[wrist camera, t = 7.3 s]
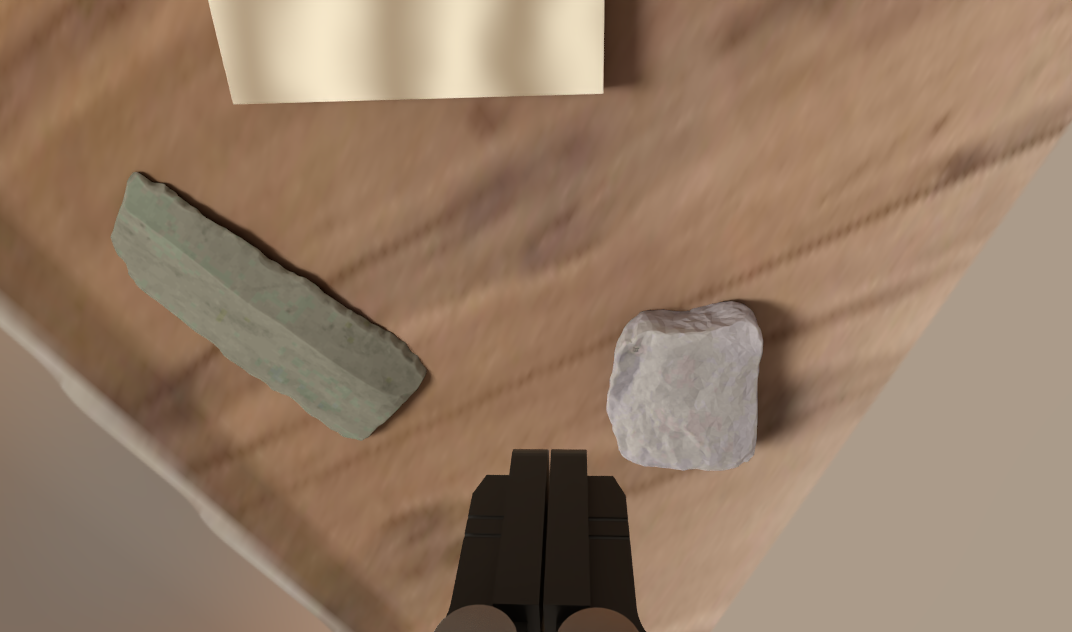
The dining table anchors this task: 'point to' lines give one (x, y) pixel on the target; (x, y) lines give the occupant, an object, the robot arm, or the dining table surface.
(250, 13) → the ash plank
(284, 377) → the stone slab
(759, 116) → the dining table surface
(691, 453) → the stone block
